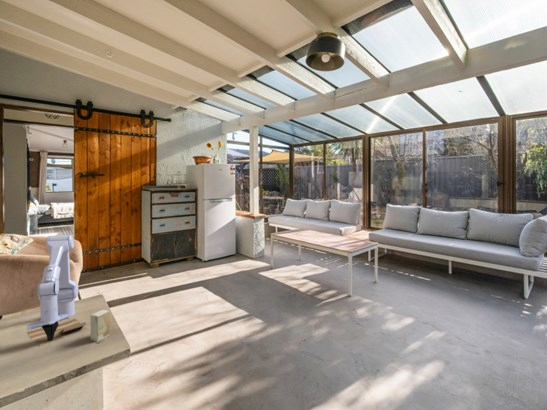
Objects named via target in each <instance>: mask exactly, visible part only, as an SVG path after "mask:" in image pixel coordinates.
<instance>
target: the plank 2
mask: <svg viewBox="0 0 547 410" xmlns="http://www.w3.org/2000/svg"><path fill="white" fill-rule="evenodd" d="M80 323H81V322H80ZM85 326H87V322H86V321H84V322H82V323H81V324H77V325H74V326H71V327H68V328H65V329H63V330H61V331H60V332H59V333H60V334H61V335H62V334H64V333H68V332H70V331H74V330H76V329H80V328H83V327H85Z"/></svg>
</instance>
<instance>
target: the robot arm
mask: <svg viewBox="0 0 547 410" xmlns="http://www.w3.org/2000/svg"><path fill="white" fill-rule="evenodd" d="M74 239H75V238H74V236H73V235H72V234H67V235H66V234H65V235H48V236H47V237H46V239H45V247H46V249H47V251H48V252H49V258H48V259H49V260H48V265H47V266H45V267H44V269H43V273H42V278H41V282H40V283H39V284H38V285H37V291H36V293H37V296H38V301H39V302H40V304H39V305H40V308H39V309H40V319H39V320H36V321H35V322H31V323H30V324H26V329H27V332H30V331H33V330H36V329H39V328H43V330H44V331H45V333H46V336H47V339H48V341H52V340H53V337H54V334H55V331H56V329H57V327H58V325H59V323H60V322H63V321H66V320H70V319H71V317H72V316H74V315H75V314H76V307H75V306H76V304H75V303H76V301H75V299H76V298H77V297H78V296H79V287H78V283H77V282H76V281H74V280H71V268H70V267H71V262H70V261H71V259H70V251H71V250H73V249H74V247H75V240H74ZM52 342H53V341H52Z"/></svg>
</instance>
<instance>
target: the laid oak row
mask: <svg viewBox="0 0 547 410" xmlns="http://www.w3.org/2000/svg"><path fill="white" fill-rule="evenodd" d="M58 323H59V325H58V327H57V329H56V331H55V333H58V332H59V333H60V331H61V330H63V329H65V328H68V327H71V326H74V325H77V324H81V322H80V321H79V320H78V319H76V318H75V317H74V318H73V317H72V318H70V319H65V320H62V321H59V322H58ZM26 333H27V335H28V337H29V339H30V340H31V341H35V340H36V339H39V338H42V337H45V336H46V333H45V331H44V330H43V328H42V327H39V328H35V329H32V330H30V331H27V332H26Z"/></svg>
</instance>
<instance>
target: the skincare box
mask: <svg viewBox="0 0 547 410" xmlns="http://www.w3.org/2000/svg"><path fill="white" fill-rule="evenodd" d="M110 312H111V311H110V310H106V309H100V310H99V311H96V312H94V313H91V314H90V340H91V341H94V342H96V344H100V343H102V342H103V341H105V340H106V339H105V338H107V337H108V336H110V335H111V334H110V333H111V332H110V325H111V324H110V322H111V321H110V316H111V315H110Z"/></svg>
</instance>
